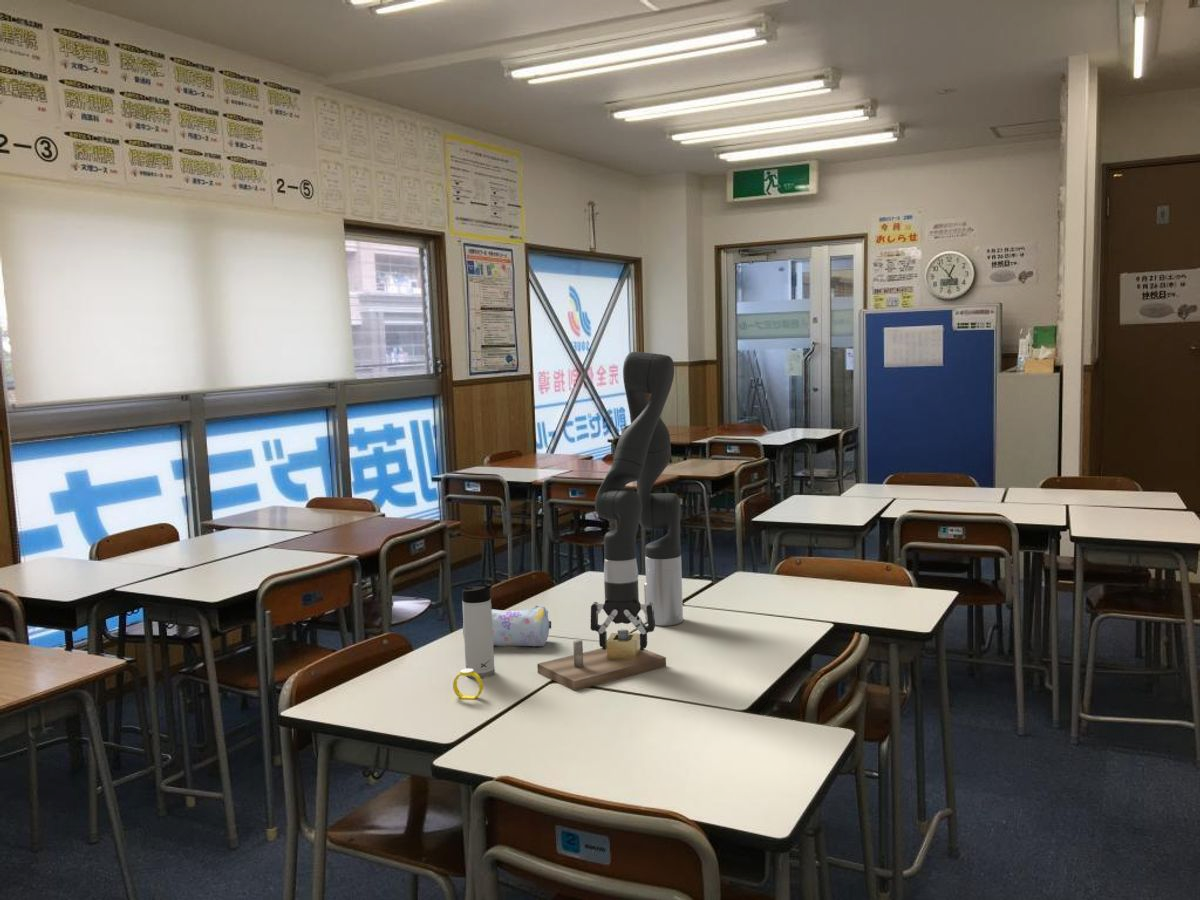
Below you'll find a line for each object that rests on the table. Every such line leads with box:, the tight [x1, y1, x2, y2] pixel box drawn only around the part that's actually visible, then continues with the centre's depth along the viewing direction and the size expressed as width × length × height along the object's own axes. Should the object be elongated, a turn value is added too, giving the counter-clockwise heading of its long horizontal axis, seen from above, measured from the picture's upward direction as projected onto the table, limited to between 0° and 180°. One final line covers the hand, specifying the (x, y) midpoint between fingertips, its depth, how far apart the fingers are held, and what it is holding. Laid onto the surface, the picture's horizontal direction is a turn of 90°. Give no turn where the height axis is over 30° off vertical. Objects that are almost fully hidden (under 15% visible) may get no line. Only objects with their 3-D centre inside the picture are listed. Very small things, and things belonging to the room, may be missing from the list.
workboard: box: [537, 639, 667, 691], centre depth 210 cm, size 15×24×8 cm, turn 124°
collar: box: [607, 632, 640, 660], centre depth 213 cm, size 6×6×4 cm
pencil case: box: [462, 605, 552, 647], centre depth 231 cm, size 21×9×10 cm, turn 83°
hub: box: [617, 628, 629, 640], centre depth 213 cm, size 3×3×6 cm
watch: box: [452, 668, 484, 700], centre depth 195 cm, size 6×3×6 cm, turn 79°
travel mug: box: [461, 583, 496, 679], centre depth 209 cm, size 6×7×20 cm
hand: (623, 649), depth 213 cm, fingers open, 8 cm apart
